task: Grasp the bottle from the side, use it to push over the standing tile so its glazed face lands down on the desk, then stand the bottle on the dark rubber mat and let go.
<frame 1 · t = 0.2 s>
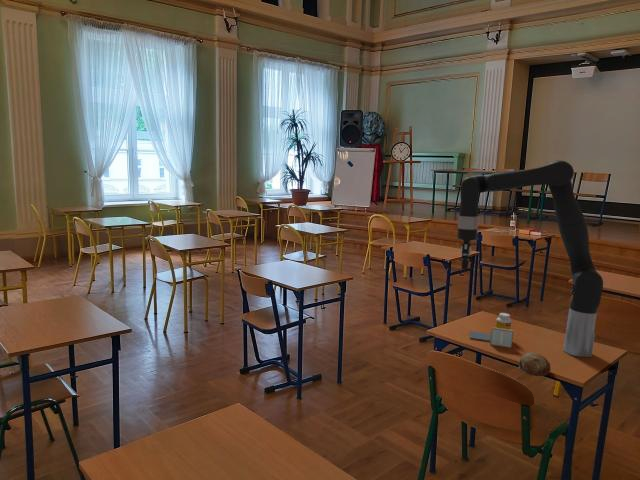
hand: (465, 267, 194), 29 cm above the table, tool pointing down, fingers open, 8 cm apart
supplement bottle: (501, 338, 197), on the table
bread roll: (534, 370, 168), on the table
mat: (480, 337, 197), on the table
tile: (500, 345, 189), on the table
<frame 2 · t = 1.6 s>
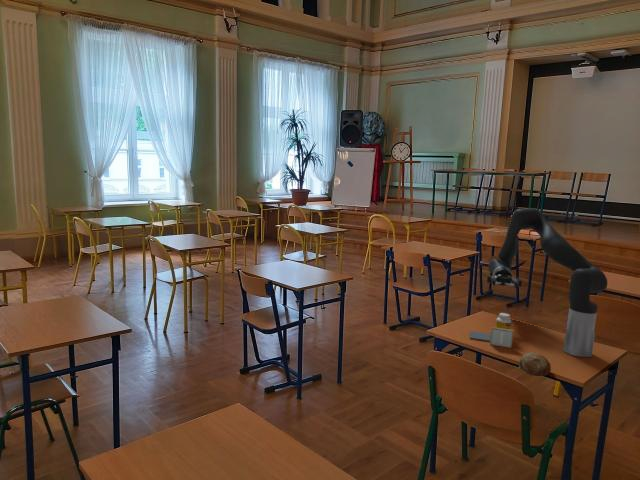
hand: (505, 284, 204), 20 cm above the table, tool horizontal, fingers open, 8 cm apart
nothing on the table moved.
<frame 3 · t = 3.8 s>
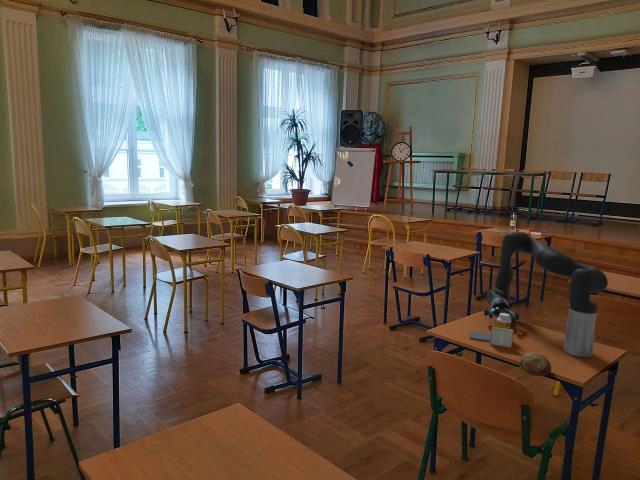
hand: (502, 318, 204), 6 cm above the table, tool horizontal, fingers open, 8 cm apart
nothing on the table moved.
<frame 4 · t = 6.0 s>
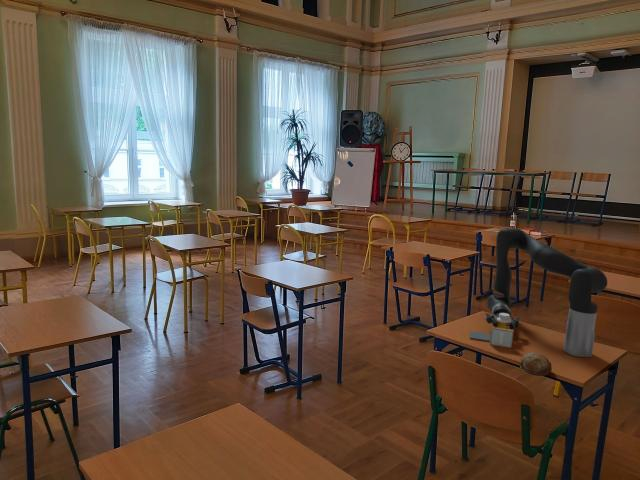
hand: (503, 326, 194), 6 cm above the table, tool horizontal, fingers closed on supplement bottle, 5 cm apart
supplement bottle: (501, 338, 197), on the table, touching gripper
everything else where it was.
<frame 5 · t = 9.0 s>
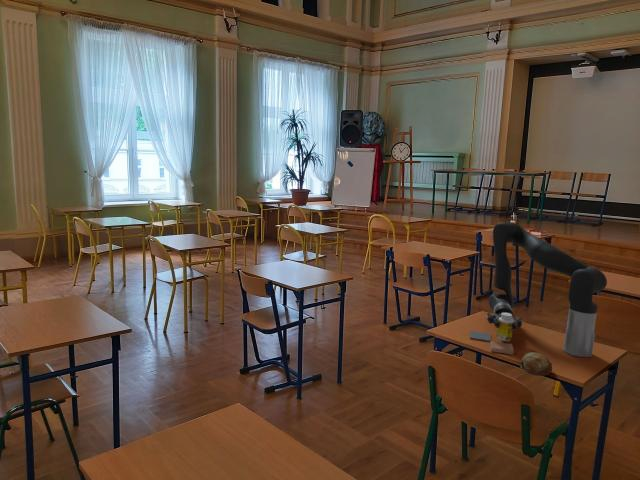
hand: (506, 326, 186), 9 cm above the table, tool horizontal, fingers closed on supplement bottle, 5 cm apart
supplement bottle: (503, 339, 189), point 2 cm above the table, touching gripper
tile: (500, 344, 188), point 1 cm above the table, tilted 90°
everything else where it was.
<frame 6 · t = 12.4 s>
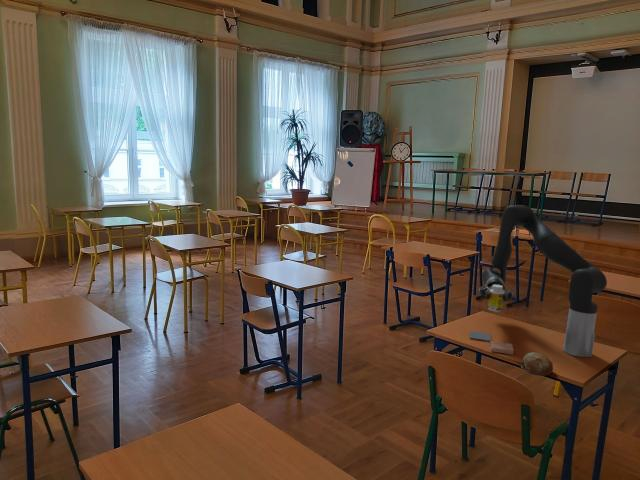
hand: (496, 297, 192), 18 cm above the table, tool horizontal, fingers closed on supplement bottle, 5 cm apart
supplement bottle: (494, 310, 196), point 11 cm above the table, touching gripper
when the fingers open (7 cm above the table, at t = 15.1 s): supplement bottle stays where it is, resting on mat.
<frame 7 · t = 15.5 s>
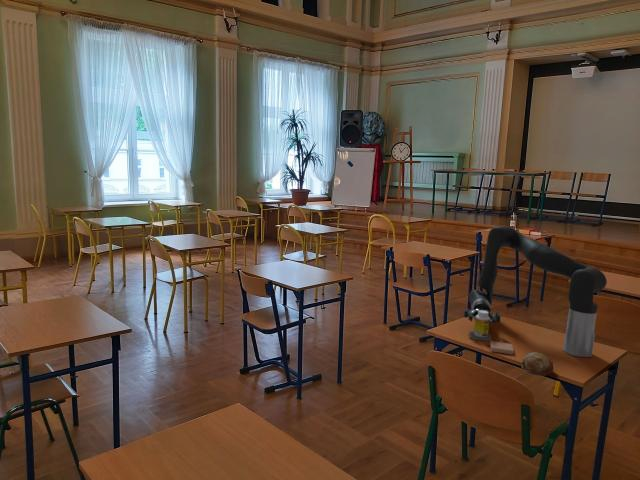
hand: (482, 320, 194), 8 cm above the table, tool horizontal, fingers open, 8 cm apart
supplement bottle: (480, 336, 197), resting on mat
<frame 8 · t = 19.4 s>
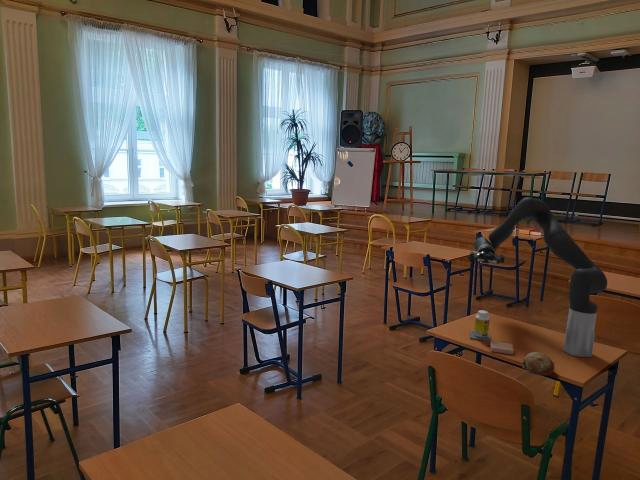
hand: (487, 260, 202), 30 cm above the table, tool horizontal, fingers open, 8 cm apart
at the end: tile tilted 90°; supplement bottle 0.1 cm from the mat (horizontally); supplement bottle tilted 0° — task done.
